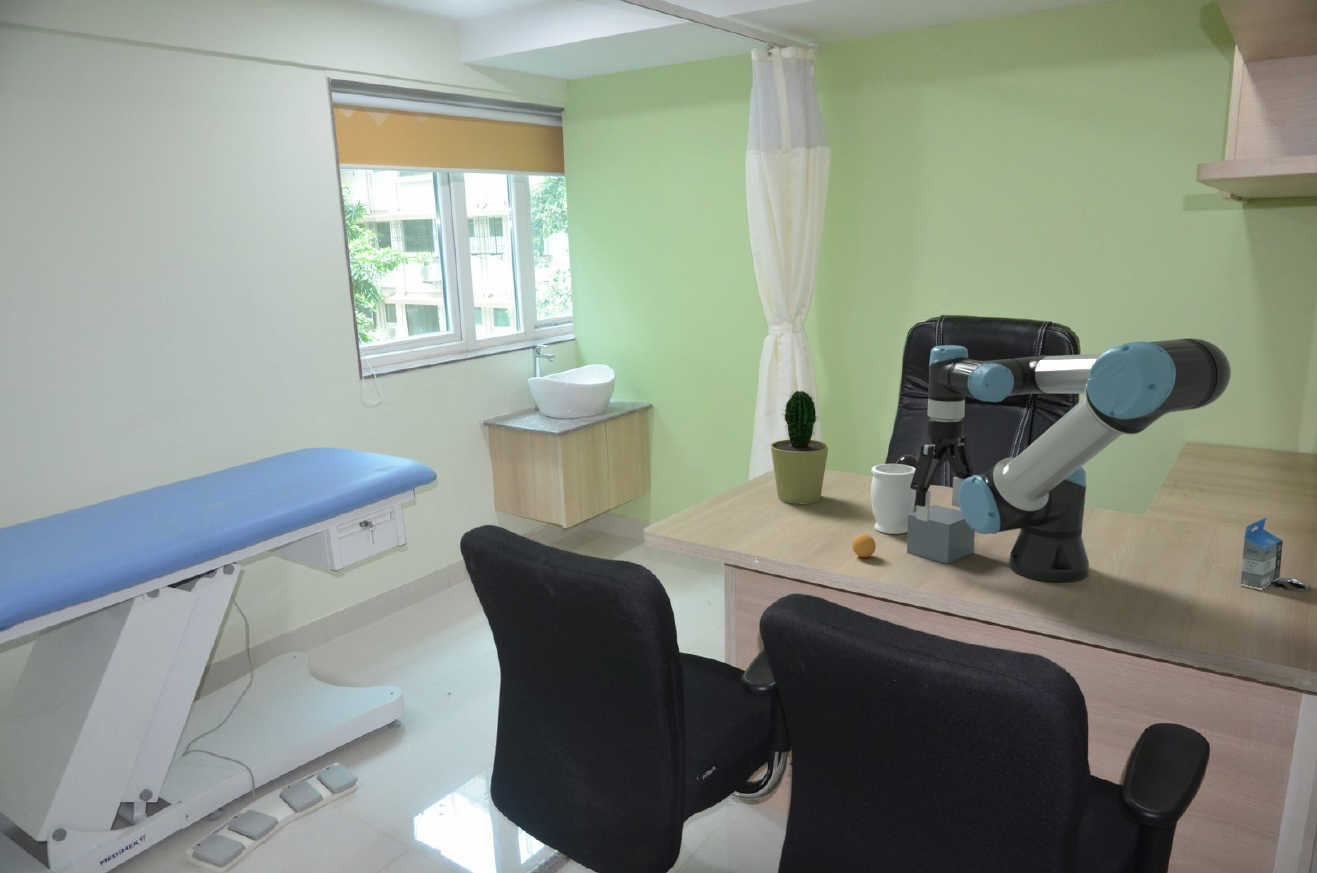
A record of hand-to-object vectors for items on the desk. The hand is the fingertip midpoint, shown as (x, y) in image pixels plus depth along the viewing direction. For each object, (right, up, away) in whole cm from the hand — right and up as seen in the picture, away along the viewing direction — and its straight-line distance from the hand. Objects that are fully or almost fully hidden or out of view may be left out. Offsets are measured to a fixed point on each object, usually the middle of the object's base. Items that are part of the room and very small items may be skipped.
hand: (940, 513), depth 194 cm
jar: (-6, -6, +18) cm, 20 cm away
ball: (-17, -7, 0) cm, 18 cm away
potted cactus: (-24, 0, +46) cm, 51 cm away
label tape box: (+56, -12, -20) cm, 61 cm away
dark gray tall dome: (+1, -3, +30) cm, 30 cm away
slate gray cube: (0, -9, +2) cm, 9 cm away
